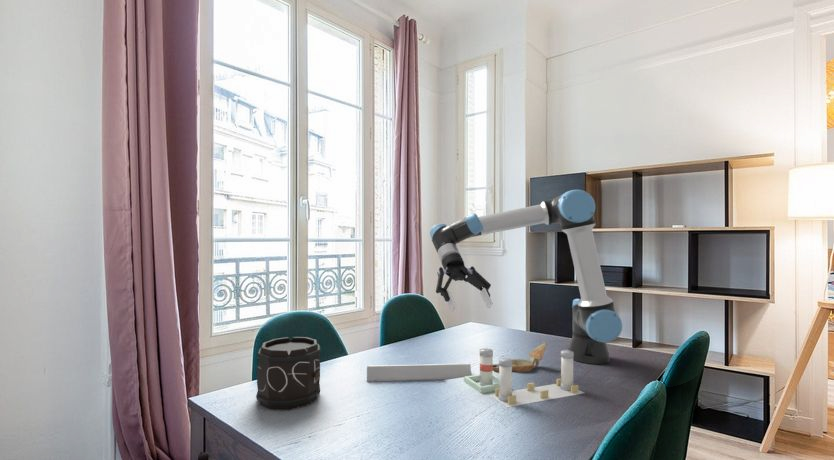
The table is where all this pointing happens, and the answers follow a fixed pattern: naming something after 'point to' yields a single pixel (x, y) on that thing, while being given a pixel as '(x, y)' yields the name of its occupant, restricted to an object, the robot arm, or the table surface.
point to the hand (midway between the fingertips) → (472, 307)
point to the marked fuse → (486, 366)
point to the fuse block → (537, 394)
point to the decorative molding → (417, 372)
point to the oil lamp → (523, 364)
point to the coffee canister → (288, 373)
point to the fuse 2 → (567, 369)
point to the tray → (482, 389)
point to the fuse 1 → (505, 379)
